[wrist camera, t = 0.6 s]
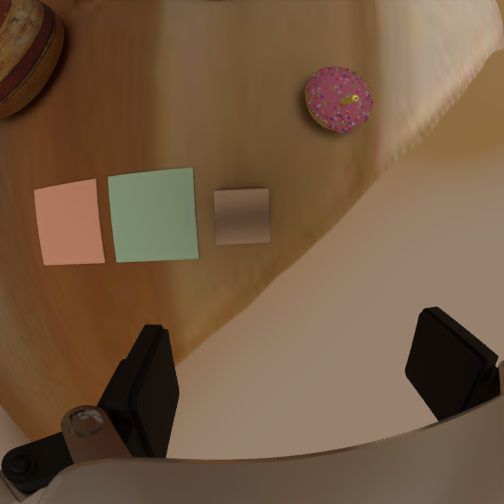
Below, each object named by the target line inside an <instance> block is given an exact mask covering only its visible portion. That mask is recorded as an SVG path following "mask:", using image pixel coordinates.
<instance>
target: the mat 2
mask: <svg viewBox="0 0 504 504" xmlns="http://www.w3.org/2000/svg"><path fill="white" fill-rule="evenodd" d="M108 185H109V199H110V210H111V220H112V229H113V237H114V245H115V252H116V259H117V262H135V261H158V260H181V259H199V250H198V238H197V224H196V209H195V193H194V174H193V167H192V168H180V169H169V170H159V171H150V172H141V173H133V174H125V175H118V176H110V177H108Z"/></svg>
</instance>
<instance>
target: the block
mask: <svg viewBox="0 0 504 504" xmlns="http://www.w3.org/2000/svg"><path fill="white" fill-rule="evenodd" d="M214 209H215V226H216V242H217V245H228V244H249V243H270V209H269V189H268V188H266V187H249V188H227V189H217V190H215V191H214Z"/></svg>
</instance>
